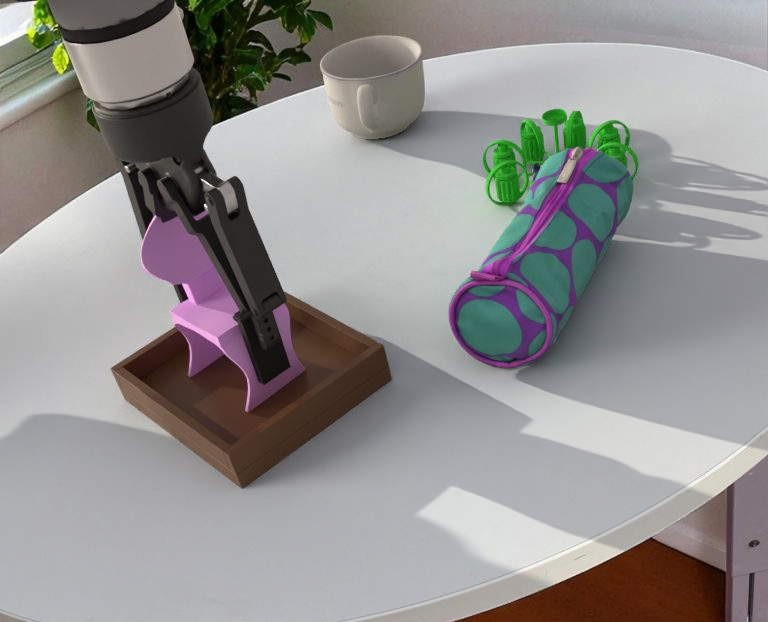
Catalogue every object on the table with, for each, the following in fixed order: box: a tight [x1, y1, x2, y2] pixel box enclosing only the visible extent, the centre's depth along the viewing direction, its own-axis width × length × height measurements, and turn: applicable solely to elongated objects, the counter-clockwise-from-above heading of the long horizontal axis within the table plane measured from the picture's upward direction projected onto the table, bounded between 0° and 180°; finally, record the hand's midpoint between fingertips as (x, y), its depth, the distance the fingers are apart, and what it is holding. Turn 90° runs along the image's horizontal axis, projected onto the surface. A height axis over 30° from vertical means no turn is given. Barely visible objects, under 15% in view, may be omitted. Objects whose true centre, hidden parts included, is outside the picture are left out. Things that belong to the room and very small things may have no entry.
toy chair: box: [140, 211, 306, 412], centre depth 83 cm, size 8×9×15 cm
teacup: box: [319, 34, 426, 140], centre depth 113 cm, size 14×11×8 cm
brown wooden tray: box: [110, 290, 393, 490], centre depth 88 cm, size 18×16×4 cm
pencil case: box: [448, 147, 634, 370], centre depth 86 cm, size 21×9×10 cm, turn 154°
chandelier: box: [482, 108, 640, 207], centre depth 100 cm, size 15×15×7 cm
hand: (241, 353), depth 86 cm, fingers closed on toy chair, 8 cm apart
